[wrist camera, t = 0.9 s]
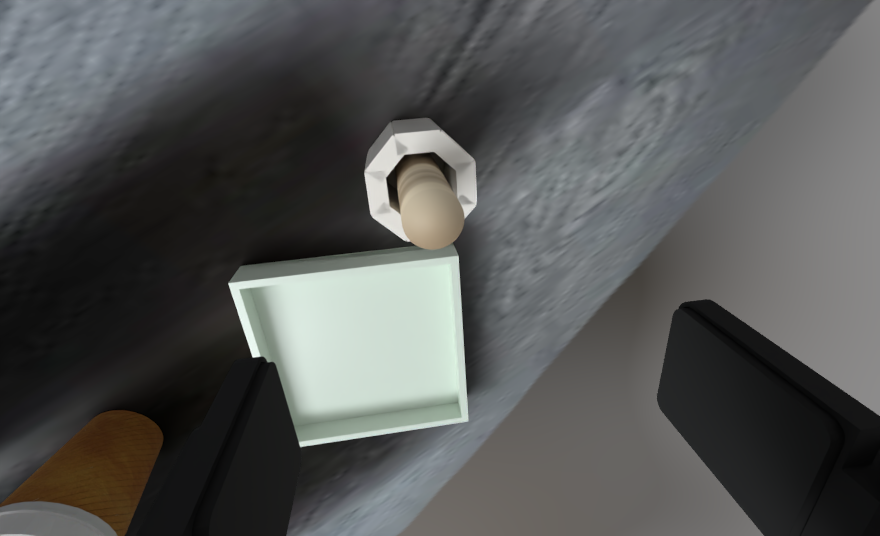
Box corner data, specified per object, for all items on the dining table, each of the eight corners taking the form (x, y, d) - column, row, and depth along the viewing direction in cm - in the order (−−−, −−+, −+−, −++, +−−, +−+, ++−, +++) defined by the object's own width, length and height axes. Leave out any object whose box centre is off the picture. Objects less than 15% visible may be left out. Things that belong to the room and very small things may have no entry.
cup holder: (363, 123, 30) (358, 137, 24) (455, 115, 30) (474, 126, 24) (376, 212, 33) (375, 245, 26) (460, 202, 33) (478, 233, 27)
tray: (240, 265, 33) (228, 283, 31) (452, 241, 35) (458, 255, 32) (289, 424, 41) (283, 449, 38) (462, 398, 42) (468, 421, 39)
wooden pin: (392, 149, 30) (398, 192, 19) (434, 145, 30) (462, 186, 19) (397, 190, 31) (405, 253, 20) (437, 186, 31) (465, 245, 21)
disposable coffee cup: (43, 436, 38) (-92, 582, 27) (111, 377, 36) (-4, 508, 25) (139, 485, 42) (54, 631, 31) (204, 434, 40) (139, 569, 29)
